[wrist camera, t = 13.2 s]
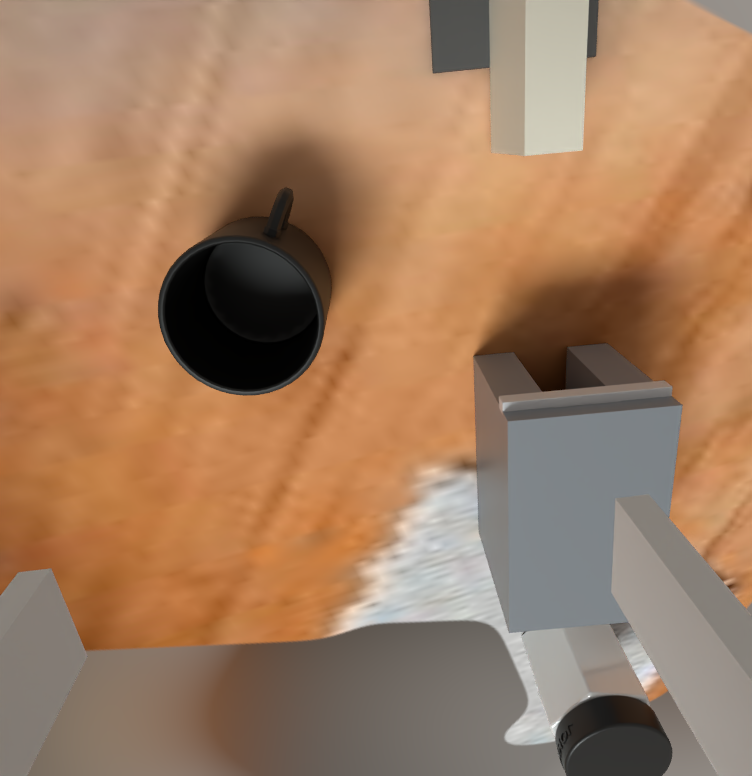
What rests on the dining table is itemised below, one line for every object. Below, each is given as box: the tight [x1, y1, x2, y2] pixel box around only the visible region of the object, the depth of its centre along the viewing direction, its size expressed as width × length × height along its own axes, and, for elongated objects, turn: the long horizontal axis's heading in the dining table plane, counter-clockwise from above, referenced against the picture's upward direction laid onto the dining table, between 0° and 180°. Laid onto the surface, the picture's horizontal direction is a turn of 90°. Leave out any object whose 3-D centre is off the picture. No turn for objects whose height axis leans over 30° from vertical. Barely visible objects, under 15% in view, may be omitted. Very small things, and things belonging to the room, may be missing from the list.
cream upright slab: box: [489, 0, 589, 156], centre depth 32 cm, size 3×13×8 cm, turn 5°
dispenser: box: [473, 343, 682, 633], centre depth 42 cm, size 10×17×11 cm, turn 5°
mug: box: [158, 187, 332, 395], centre depth 37 cm, size 9×12×9 cm
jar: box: [521, 624, 672, 776], centre depth 50 cm, size 9×8×12 cm
